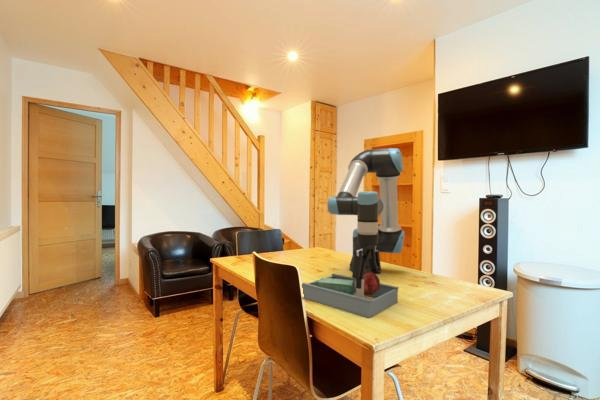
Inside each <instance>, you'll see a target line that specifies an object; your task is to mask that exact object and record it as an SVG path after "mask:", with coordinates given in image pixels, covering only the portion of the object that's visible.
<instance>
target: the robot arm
mask: <svg viewBox="0 0 600 400" xmlns="http://www.w3.org/2000/svg"><path fill="white" fill-rule="evenodd" d="M347 167H348V168H347V169H348V171H347V173H346V175H345V178H344V180H343V183H341V184H342V185H341V186H340V188H339V190H338V193H337V195H336V196H330V197H329V198H328V200H327V210H328V213H329V214H330V215H337V216H345V215H346V216H357V219H356V220H357V224H356V226H357V228H355V229H354V230H353V231H352V256H351V259H350V263H349V268H348V269H349V271H350V272H352V275H351V277H353V278H355V279H356V293H355V296H358V297H362V298H365V295H364V279H363V275H364V271H365V268H366V270H367V272H372V273H374V274H375V275H377V277H378V276H379V275H381V272H382V265H381V258H380V257H381V256H380V253H386V254H400V253H402V251H403V247H404V241H405V234H406V233H405V231H404V230H402V227H401V225H399V213H398V212H399V209H398V208H399V206H398V205H399V202H398V179H399V177H400V176H401V173H403V171H404V161H403V155H402V152H401V150H400V149H399V148H397V147H396V148H392V147H388V148H387V147H386V148H376V149H375V148H374V149H372V148H371V149H366V150H365V149H364V150H363V151H361V152H359V153H357V155H355V156H354V157H353V158H352V159H351V161H350V162H349V164H348V165H347ZM369 173H370V174H371V173H373V174H375V177H376V179H378V181H379V182H378V183H379V186H378V187H379V193H378V192H377V191H359V189H360V187H361V183H362V181H363V178H364V177H366V175H367V174H369ZM379 215H380V225H379ZM378 278H379V277H378Z"/></svg>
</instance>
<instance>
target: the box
mask: <svg viewBox="0 0 600 400" xmlns="http://www.w3.org/2000/svg"><path fill="white" fill-rule="evenodd" d="M318 280H319V281H318V286H319V287H323V288H327V289H330V290H334V291H338V292H342V293H346V294H350V295H354V296H355V292H354V291H355V289H354V281H353V280H344V279H333V278H326V277H321V278H319V279H318Z"/></svg>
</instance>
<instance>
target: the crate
mask: <svg viewBox="0 0 600 400" xmlns="http://www.w3.org/2000/svg"><path fill="white" fill-rule="evenodd" d="M325 278H333V279H344V280H353V281H354V289H355V291H354V295H350V294H346V293H342V292H338V291H334V290H330V289H327V288H323V287H319V286H318V281H319V280H320V279H318V280H315V281H311V282H308V283H306V282H301V283H302V285H301V289H302V288H303V294H304V298H303V299H304V300H305V299H306V300H309V301H312V302H315V303H318V304H320V305H325V306H328V307H331V308H335V309H339V310H341V311H345V312H348V313H352V314H355V315H359V316H362V317H365V318H367V319H370V318H372V317H374V316H376V315H377V314H379V313H381V312H383V311H385V310H386V309H388V308H390V307H391V306H393V305H395V304H397V303H398V301H399V299H398V297H399V293H398V292H399V291H398V290H399V287H398V286H395V285H389V284H385V283H381V282H380V287H379V290H378V291H377V292H375V293H374V294H372V295H366V296H367V297H372V299H370V298H369V299H368V298H365V297H364V298H362V297H358V296H356V295H355V294H356V287H355V281H356V279H355V278H353V277H352V276H346V275H342V274H338V273H331V275H329V276H327V277H325Z"/></svg>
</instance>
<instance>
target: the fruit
mask: <svg viewBox="0 0 600 400" xmlns="http://www.w3.org/2000/svg"><path fill="white" fill-rule="evenodd" d="M363 279H364V296H367V295H372V294H374V293H375V292H377V291H378V290H379V287H380V283H381V281H380V278H379V277H377V275H375V274H374V273H372V272H367V270H366V268H365V271H364V275H363ZM355 287H356V281H355Z"/></svg>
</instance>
